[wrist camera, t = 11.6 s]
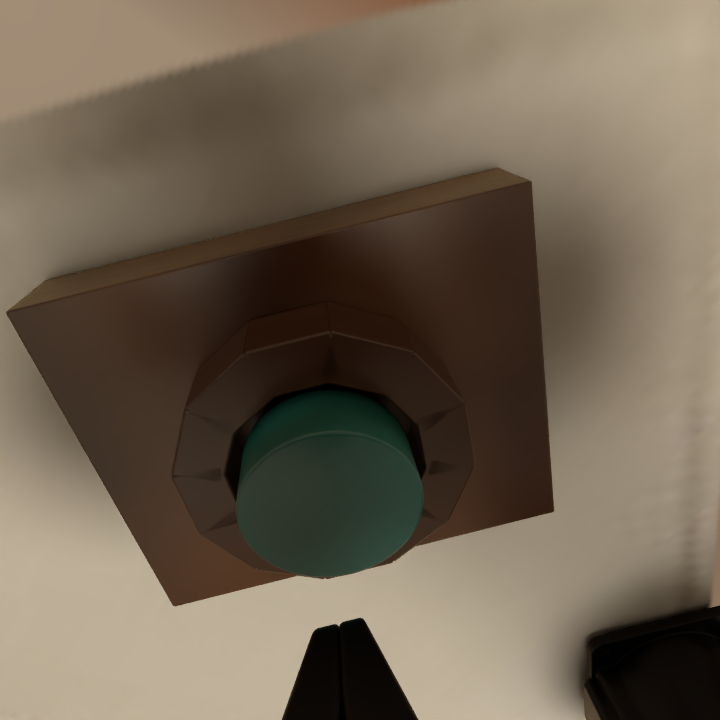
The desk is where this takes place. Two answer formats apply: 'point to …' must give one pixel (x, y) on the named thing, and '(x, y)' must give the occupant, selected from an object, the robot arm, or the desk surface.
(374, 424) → the button
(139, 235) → the desk surface
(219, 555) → the button box
